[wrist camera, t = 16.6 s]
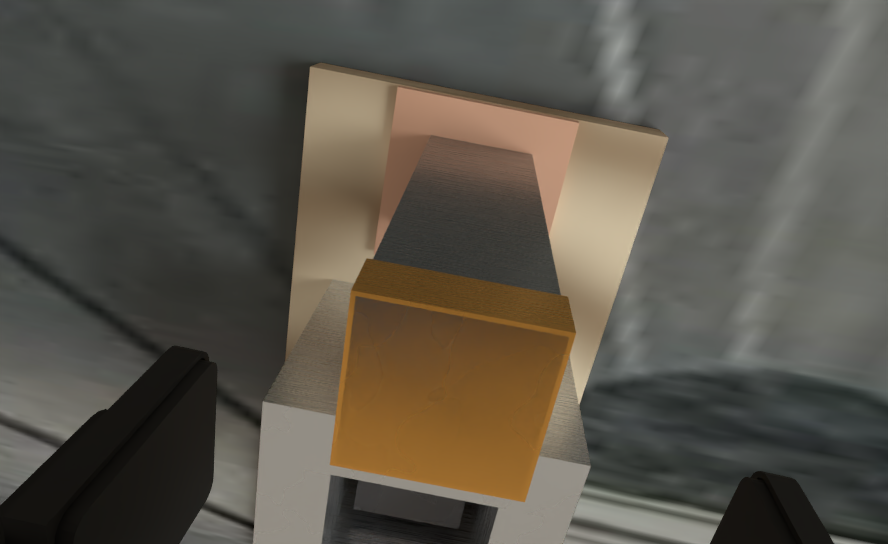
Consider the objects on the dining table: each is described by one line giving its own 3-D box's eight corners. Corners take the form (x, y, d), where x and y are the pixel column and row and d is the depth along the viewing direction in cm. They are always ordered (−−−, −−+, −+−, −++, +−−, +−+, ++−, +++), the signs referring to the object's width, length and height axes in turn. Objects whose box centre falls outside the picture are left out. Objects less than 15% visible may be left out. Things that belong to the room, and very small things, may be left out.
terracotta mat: (534, 282, 27) (535, 286, 26) (375, 250, 27) (373, 254, 26) (578, 120, 24) (579, 123, 24) (399, 85, 24) (397, 87, 24)
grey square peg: (511, 250, 26) (524, 502, 13) (412, 231, 26) (329, 465, 13) (535, 152, 24) (576, 333, 11) (428, 131, 24) (351, 290, 11)
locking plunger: (460, 507, 27) (458, 529, 26) (359, 487, 27) (353, 508, 26) (480, 426, 25) (480, 446, 24) (372, 405, 25) (367, 424, 24)
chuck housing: (511, 498, 32) (515, 673, 24) (311, 459, 32) (247, 620, 24) (563, 324, 28) (590, 466, 19) (332, 279, 28) (262, 401, 19)
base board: (507, 595, 37) (507, 618, 36) (275, 549, 37) (267, 570, 36) (659, 129, 25) (668, 137, 24) (320, 62, 25) (310, 66, 24)
